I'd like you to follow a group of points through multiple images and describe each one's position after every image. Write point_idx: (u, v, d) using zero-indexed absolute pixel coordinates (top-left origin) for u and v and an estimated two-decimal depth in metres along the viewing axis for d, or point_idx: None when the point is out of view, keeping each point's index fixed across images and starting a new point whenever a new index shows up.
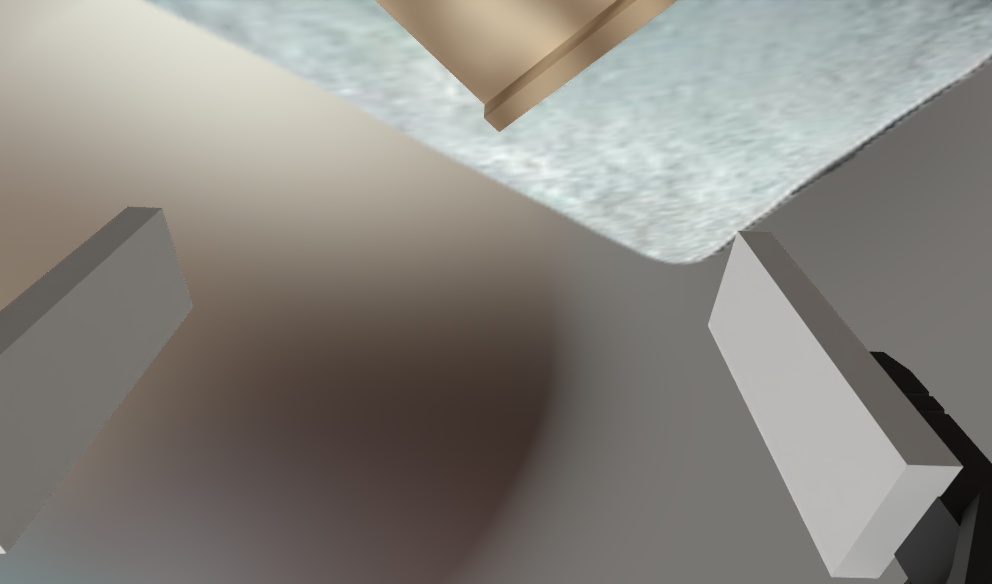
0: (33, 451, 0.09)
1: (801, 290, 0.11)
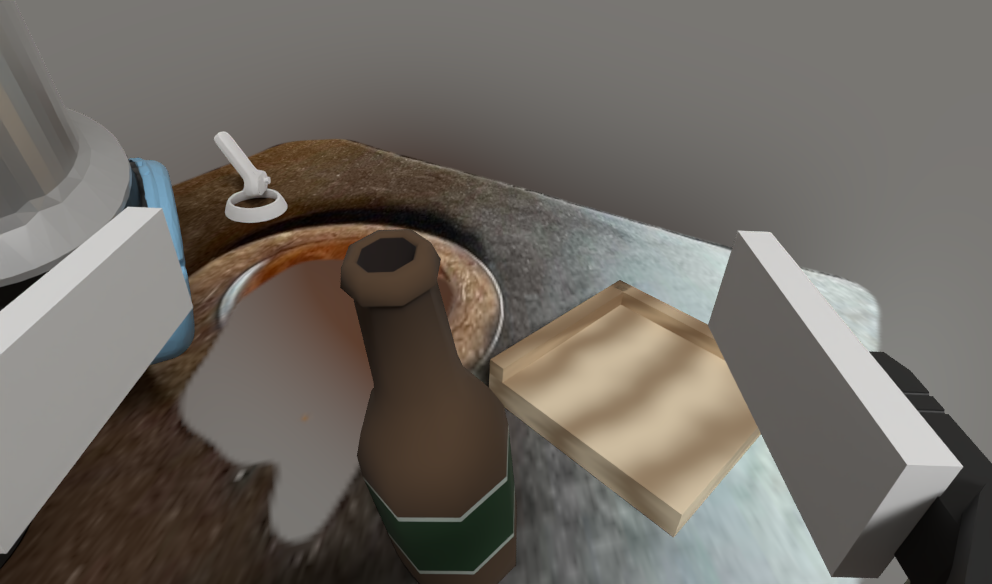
0: (33, 451, 0.09)
1: (801, 290, 0.11)
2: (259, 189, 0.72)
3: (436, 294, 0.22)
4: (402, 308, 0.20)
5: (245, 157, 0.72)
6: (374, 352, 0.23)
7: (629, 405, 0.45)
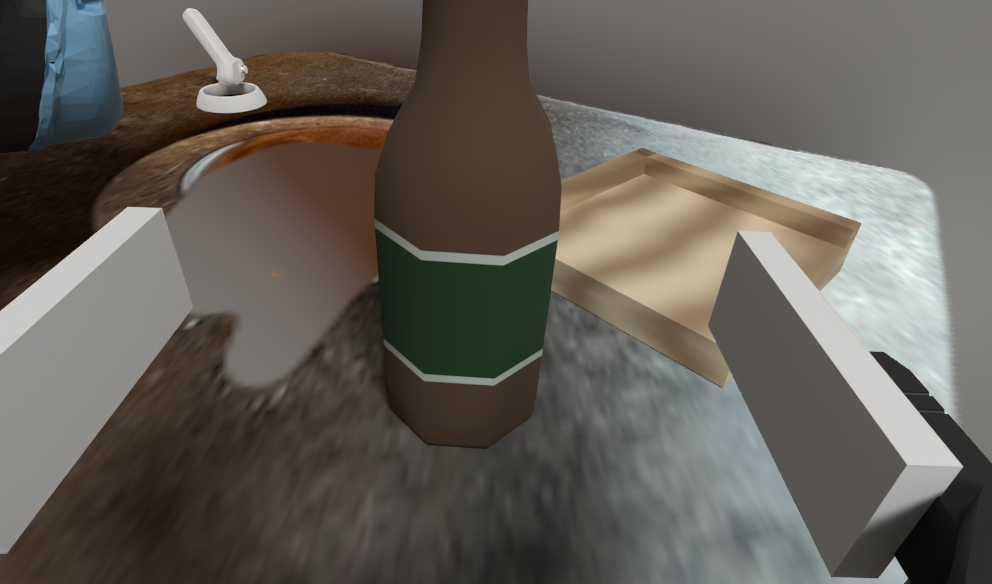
0: (33, 451, 0.09)
1: (801, 290, 0.11)
2: (234, 77, 0.65)
3: None
4: None
5: (218, 39, 0.64)
6: None
7: (661, 256, 0.38)
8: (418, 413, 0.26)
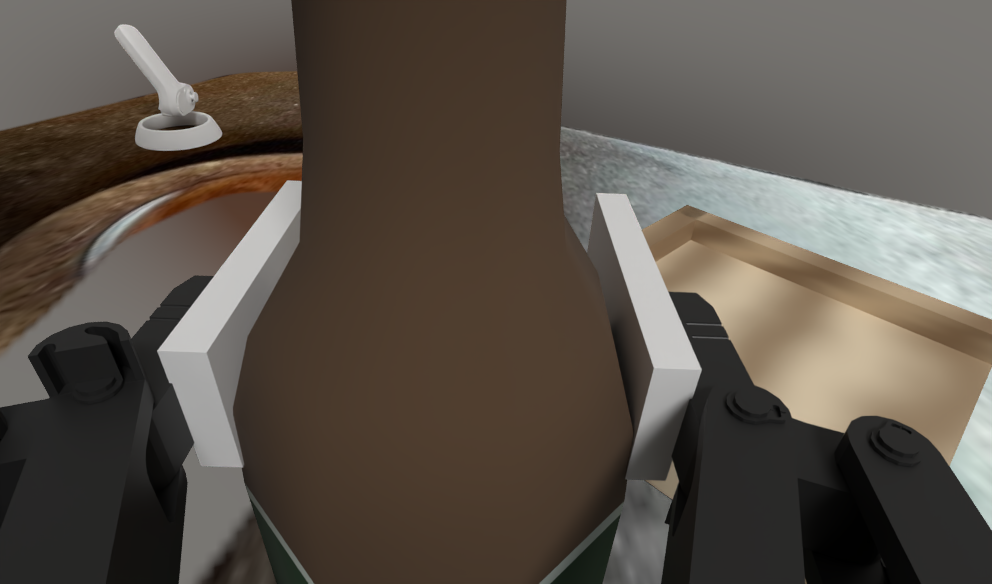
0: None
1: (630, 240, 0.12)
2: (179, 107, 0.54)
3: None
4: None
5: (160, 62, 0.53)
6: None
7: None
8: None
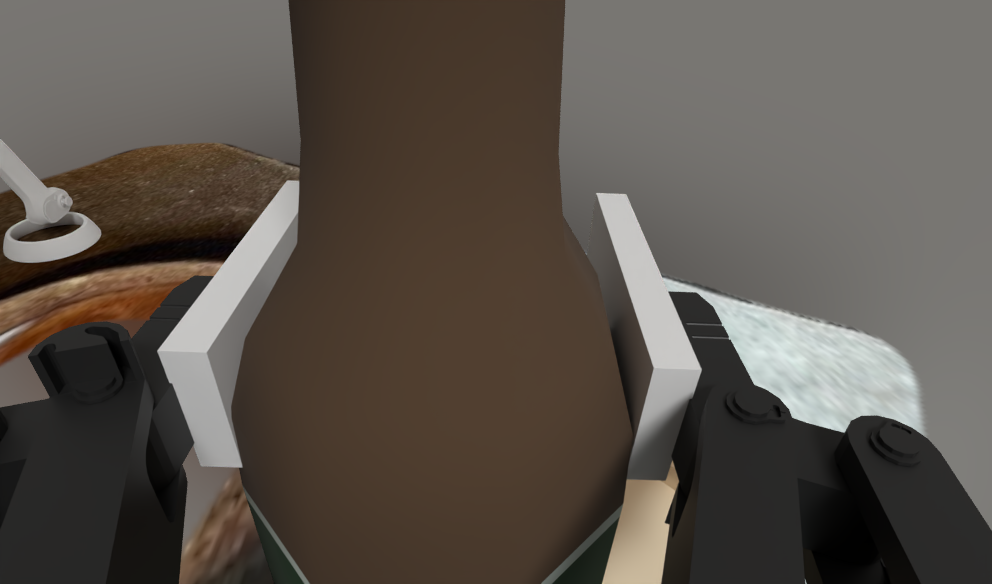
0: None
1: (630, 240, 0.12)
2: (48, 215, 0.52)
3: None
4: None
5: (25, 170, 0.51)
6: None
7: None
8: None
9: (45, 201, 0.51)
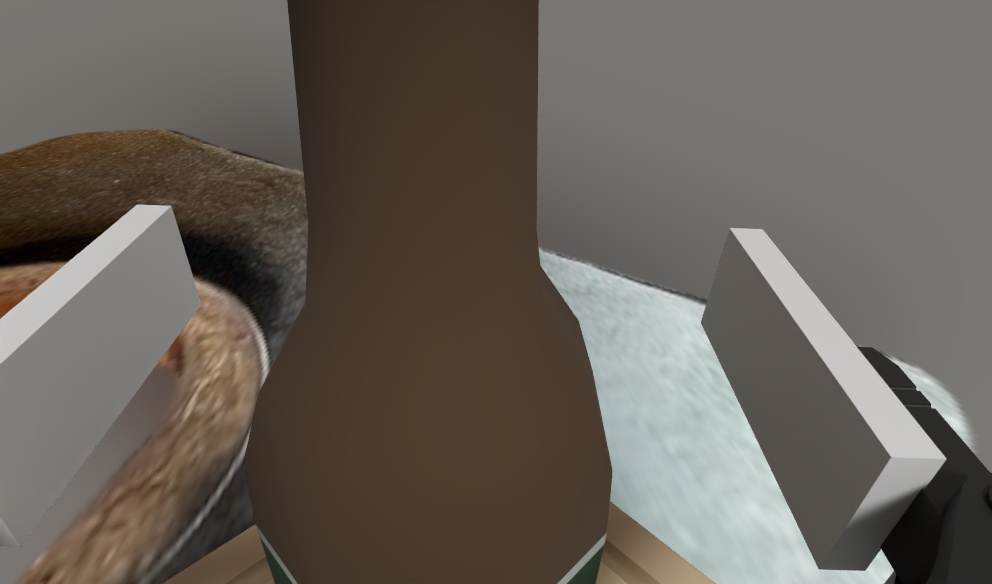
0: (47, 446, 0.09)
1: (791, 286, 0.11)
2: None
3: None
4: None
5: None
6: (322, 64, 0.07)
7: None
8: None
9: None
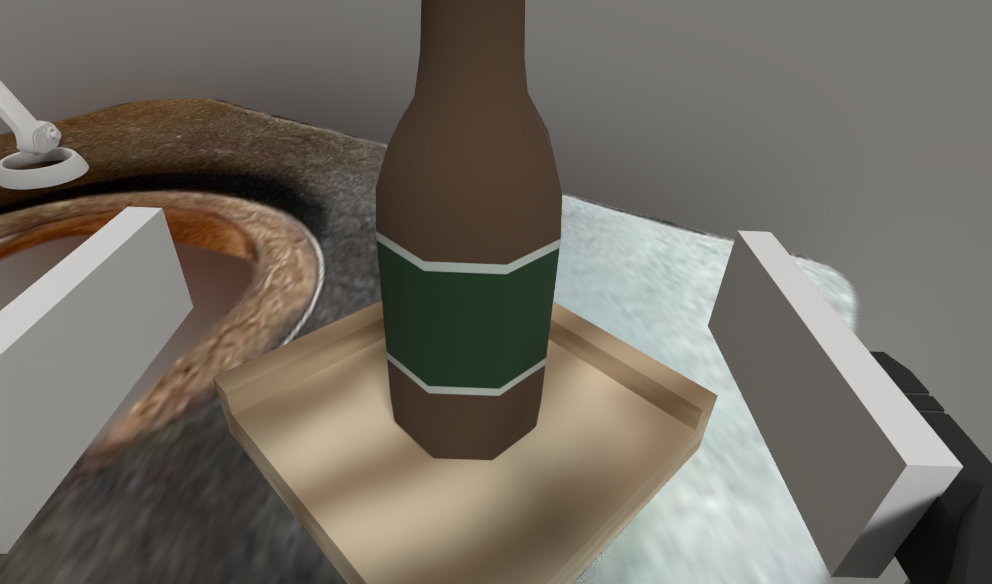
0: (33, 451, 0.09)
1: (801, 290, 0.11)
2: (37, 145, 0.55)
3: None
4: None
5: (16, 102, 0.54)
6: None
7: (428, 454, 0.27)
8: (423, 426, 0.26)
9: (34, 132, 0.54)
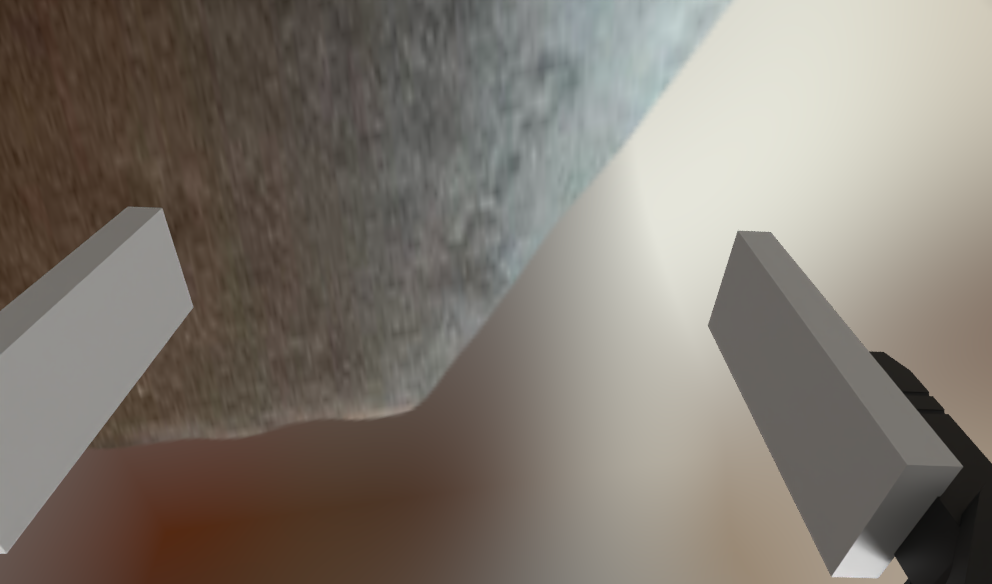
0: (33, 451, 0.09)
1: (801, 290, 0.11)
2: None
3: None
4: None
5: None
6: None
7: None
8: None
9: None
